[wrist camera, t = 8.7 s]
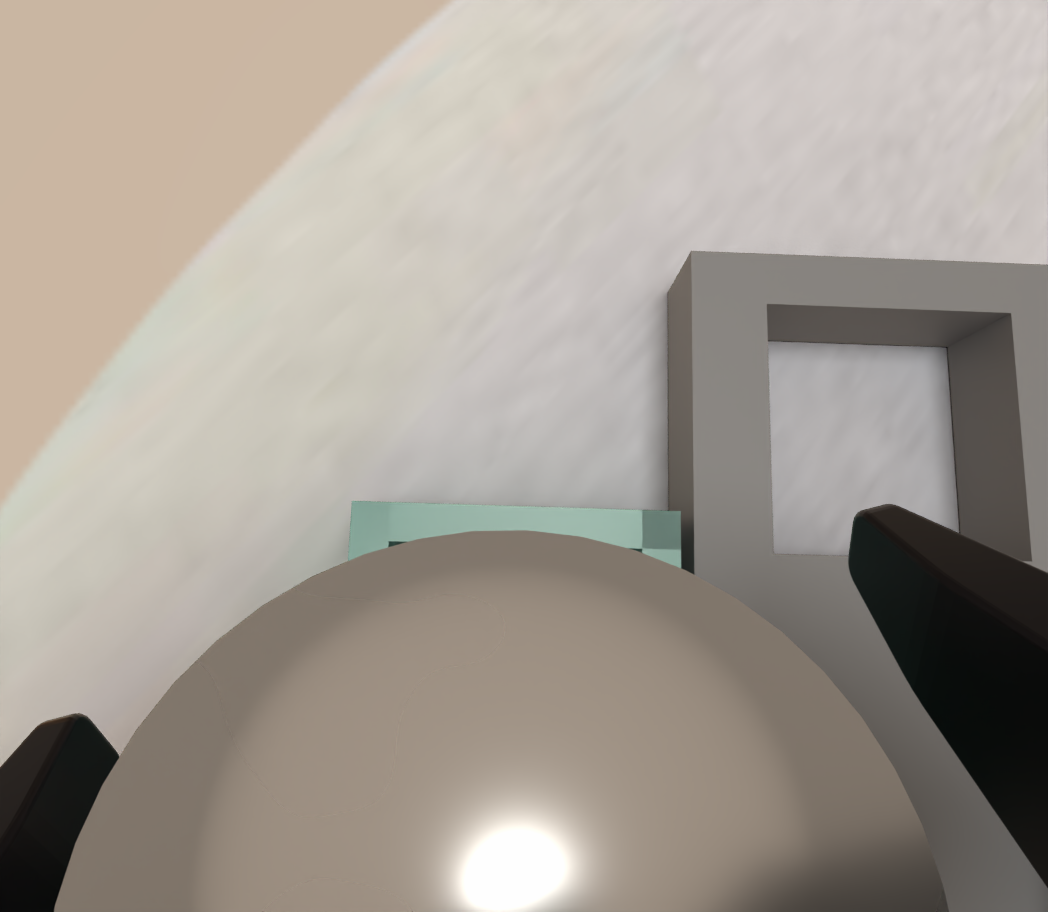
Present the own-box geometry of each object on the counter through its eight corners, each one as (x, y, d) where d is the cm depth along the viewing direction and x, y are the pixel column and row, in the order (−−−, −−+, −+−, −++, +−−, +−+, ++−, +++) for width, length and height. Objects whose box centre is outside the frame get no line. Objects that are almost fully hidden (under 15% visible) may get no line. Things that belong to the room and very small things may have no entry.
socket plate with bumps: (1064, 975, 17) (1330, 1160, 12) (670, 969, 17) (751, 1152, 12) (1008, 305, 20) (1202, 198, 14) (667, 292, 20) (732, 179, 14)
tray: (652, 968, 17) (684, 1049, 14) (348, 963, 17) (315, 1043, 14) (652, 522, 19) (681, 510, 16) (376, 514, 19) (352, 501, 16)
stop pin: (634, 731, 17) (1126, 1316, 3) (451, 801, 17) (178, 1751, 3) (568, 547, 18) (753, 417, 4) (390, 611, 18) (-55, 701, 4)
